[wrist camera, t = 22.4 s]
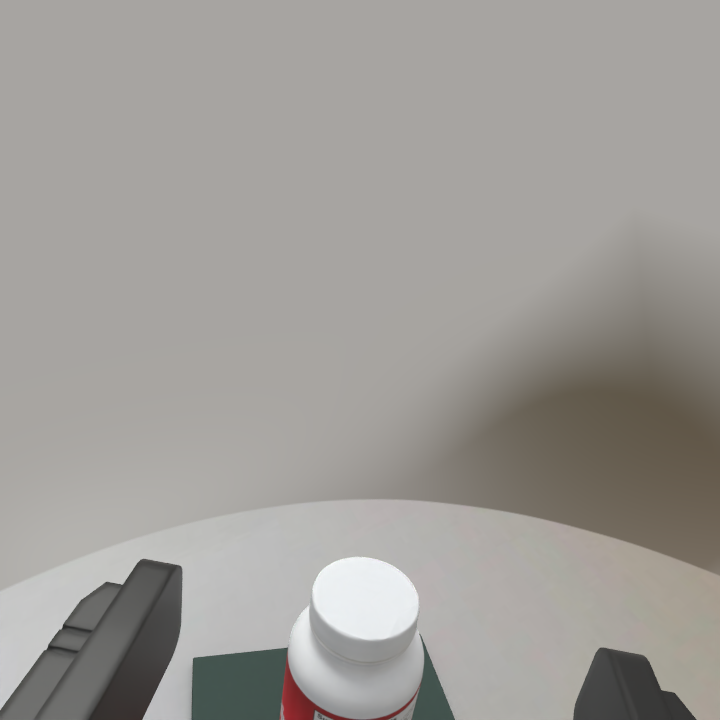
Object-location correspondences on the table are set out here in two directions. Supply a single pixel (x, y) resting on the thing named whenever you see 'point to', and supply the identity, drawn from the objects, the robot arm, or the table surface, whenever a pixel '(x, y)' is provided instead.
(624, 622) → the table surface
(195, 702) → the mat
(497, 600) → the table surface
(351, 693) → the pill bottle
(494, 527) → the table surface
